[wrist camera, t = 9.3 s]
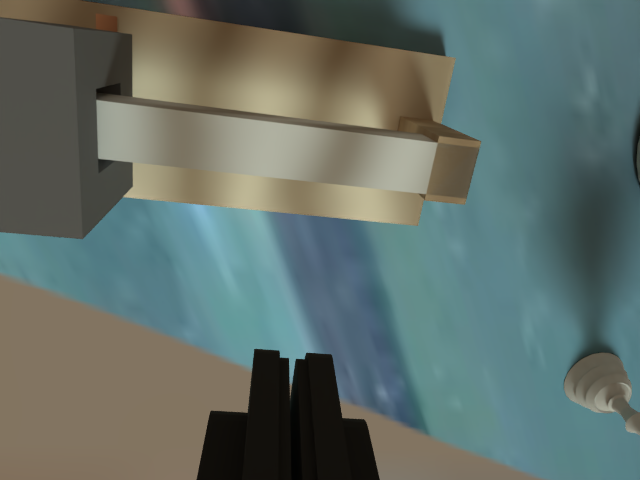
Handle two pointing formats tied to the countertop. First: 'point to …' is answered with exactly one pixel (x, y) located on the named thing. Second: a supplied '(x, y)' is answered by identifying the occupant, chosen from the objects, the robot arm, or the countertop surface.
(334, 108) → the pipe rig
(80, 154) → the collar
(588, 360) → the chalice
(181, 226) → the countertop surface
